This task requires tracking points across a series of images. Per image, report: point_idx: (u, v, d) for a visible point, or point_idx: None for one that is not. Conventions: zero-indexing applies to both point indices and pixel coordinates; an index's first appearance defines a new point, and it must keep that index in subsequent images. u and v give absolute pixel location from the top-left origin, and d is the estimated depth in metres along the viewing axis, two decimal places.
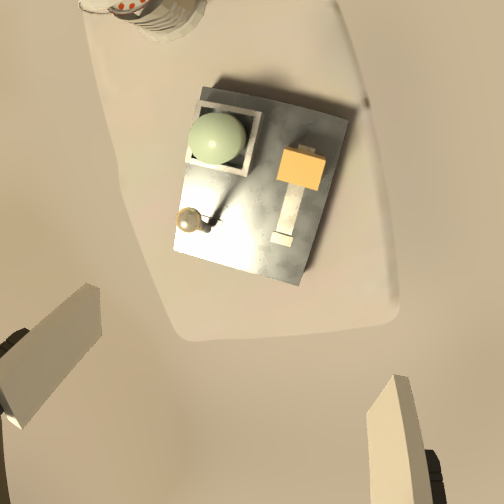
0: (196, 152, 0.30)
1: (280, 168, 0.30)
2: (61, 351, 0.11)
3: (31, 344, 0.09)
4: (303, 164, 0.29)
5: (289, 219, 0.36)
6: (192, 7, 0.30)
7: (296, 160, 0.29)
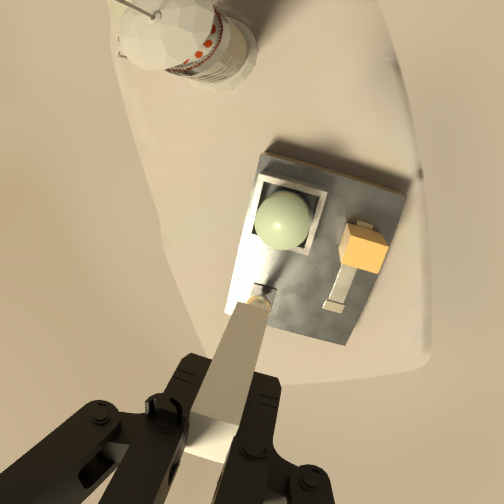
0: (262, 236, 0.30)
1: (345, 253, 0.30)
2: None
3: (224, 370, 0.11)
4: (367, 250, 0.30)
5: (342, 289, 0.36)
6: (244, 56, 0.30)
7: (361, 246, 0.30)
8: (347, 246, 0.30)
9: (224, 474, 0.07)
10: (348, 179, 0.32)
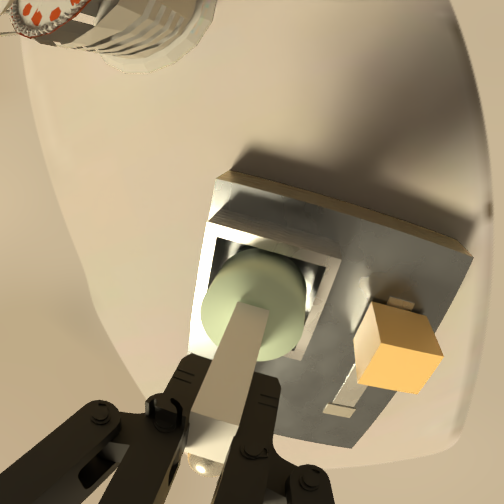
0: (217, 338, 0.16)
1: (367, 369, 0.16)
2: None
3: (224, 370, 0.11)
4: (407, 364, 0.15)
5: (354, 391, 0.22)
6: (191, 6, 0.15)
7: (397, 359, 0.15)
8: (372, 359, 0.15)
9: (224, 474, 0.07)
10: (379, 226, 0.17)
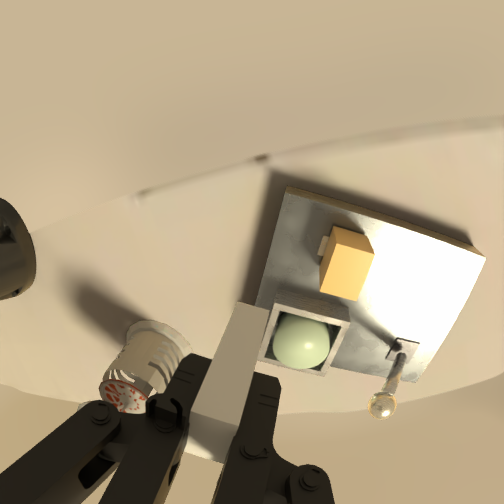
0: (313, 363, 0.28)
1: (343, 296, 0.24)
2: None
3: (224, 370, 0.11)
4: (340, 270, 0.23)
5: (408, 268, 0.26)
6: (156, 336, 0.36)
7: (335, 278, 0.23)
8: (334, 294, 0.24)
9: (224, 474, 0.07)
10: (267, 265, 0.29)
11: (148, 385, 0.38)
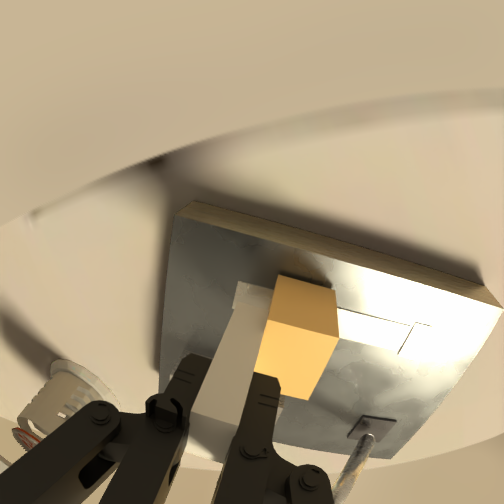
0: None
1: (286, 393, 0.14)
2: None
3: (224, 370, 0.11)
4: (278, 359, 0.13)
5: (380, 330, 0.17)
6: (72, 380, 0.27)
7: (270, 369, 0.14)
8: None
9: (224, 474, 0.07)
10: (164, 318, 0.19)
11: None
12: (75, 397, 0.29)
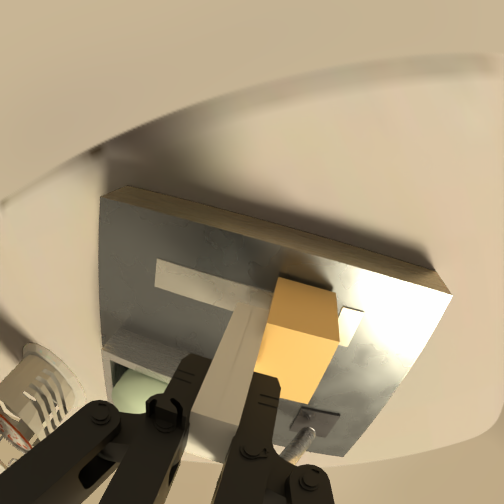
0: None
1: (285, 397, 0.14)
2: None
3: (224, 370, 0.11)
4: (278, 363, 0.13)
5: None
6: (39, 362, 0.27)
7: (269, 373, 0.13)
8: None
9: (224, 474, 0.07)
10: (100, 296, 0.19)
11: None
12: (44, 380, 0.29)
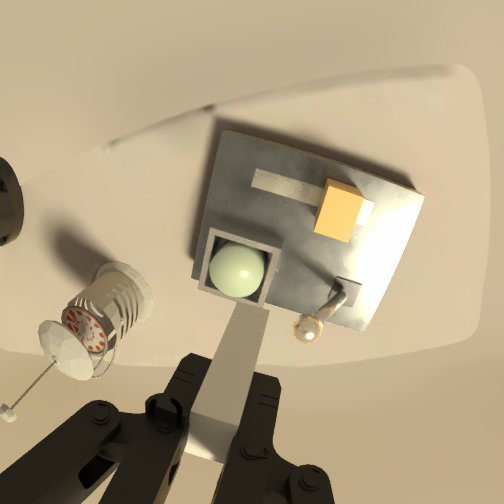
0: (248, 291, 0.31)
1: (335, 237, 0.26)
2: None
3: (224, 370, 0.11)
4: (333, 212, 0.25)
5: None
6: (119, 275, 0.39)
7: (328, 219, 0.26)
8: (327, 235, 0.26)
9: (224, 474, 0.07)
10: (208, 197, 0.32)
11: (111, 326, 0.41)
12: None
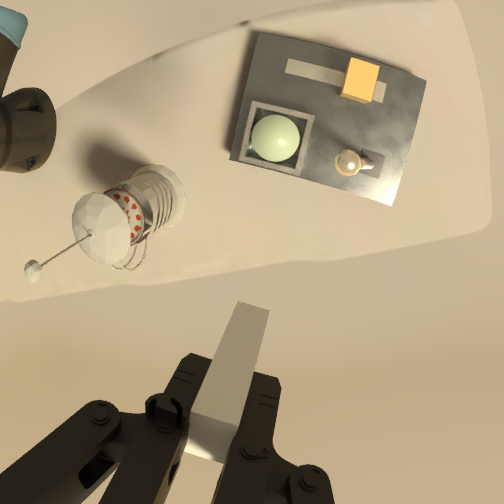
0: (287, 154, 0.33)
1: (361, 97, 0.28)
2: None
3: (224, 370, 0.11)
4: (356, 76, 0.27)
5: None
6: (154, 174, 0.41)
7: (353, 82, 0.28)
8: (354, 95, 0.28)
9: (224, 474, 0.07)
10: (247, 83, 0.34)
11: None
12: (148, 199, 0.43)
